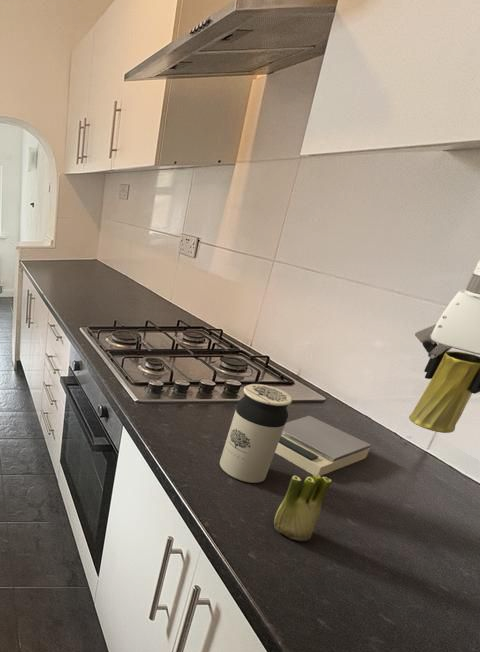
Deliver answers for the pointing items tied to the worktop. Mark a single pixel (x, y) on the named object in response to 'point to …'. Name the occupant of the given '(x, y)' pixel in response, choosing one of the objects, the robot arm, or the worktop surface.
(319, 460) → the scale
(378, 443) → the worktop surface
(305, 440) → the gray slab
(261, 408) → the travel mug
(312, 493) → the fennel bulb
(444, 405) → the vase
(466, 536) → the worktop surface
